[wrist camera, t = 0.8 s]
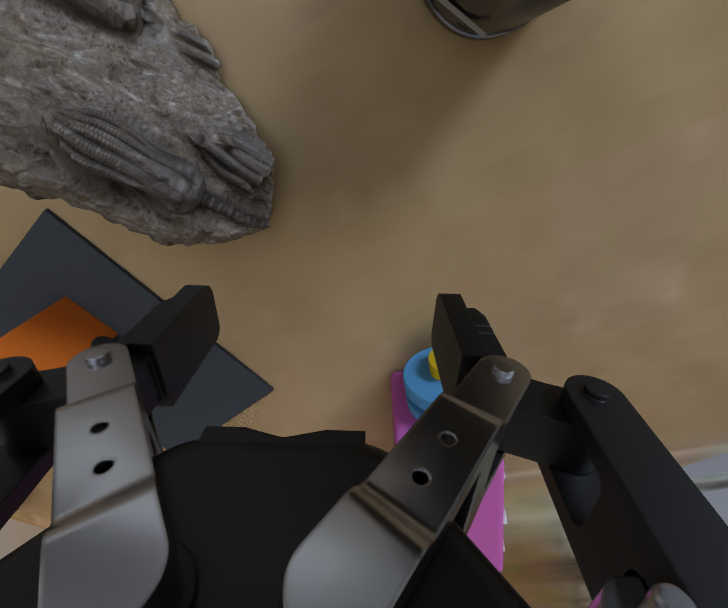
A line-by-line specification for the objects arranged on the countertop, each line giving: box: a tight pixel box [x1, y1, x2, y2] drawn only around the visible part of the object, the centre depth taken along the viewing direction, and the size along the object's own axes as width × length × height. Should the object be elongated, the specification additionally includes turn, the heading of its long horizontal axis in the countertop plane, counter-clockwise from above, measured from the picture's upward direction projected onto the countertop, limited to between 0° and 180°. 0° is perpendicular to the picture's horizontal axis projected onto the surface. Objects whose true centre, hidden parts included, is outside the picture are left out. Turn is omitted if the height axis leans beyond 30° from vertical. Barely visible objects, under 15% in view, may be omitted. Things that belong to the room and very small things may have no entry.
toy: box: [391, 347, 508, 572], centre depth 35 cm, size 28×9×15 cm, turn 11°
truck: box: [0, 296, 118, 444], centre depth 30 cm, size 7×5×13 cm
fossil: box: [0, 0, 275, 247], centre depth 22 cm, size 22×10×15 cm
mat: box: [0, 209, 273, 450], centre depth 37 cm, size 26×18×1 cm
